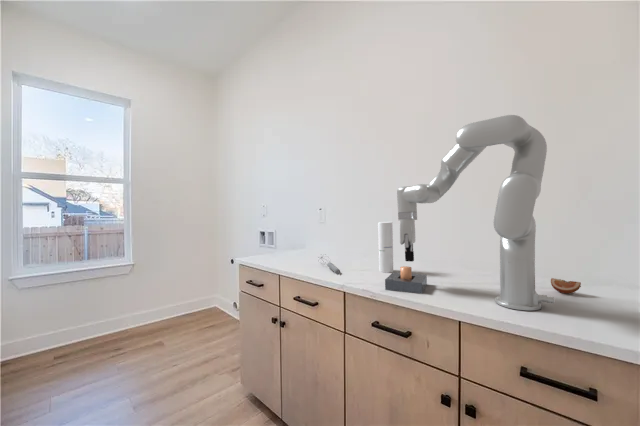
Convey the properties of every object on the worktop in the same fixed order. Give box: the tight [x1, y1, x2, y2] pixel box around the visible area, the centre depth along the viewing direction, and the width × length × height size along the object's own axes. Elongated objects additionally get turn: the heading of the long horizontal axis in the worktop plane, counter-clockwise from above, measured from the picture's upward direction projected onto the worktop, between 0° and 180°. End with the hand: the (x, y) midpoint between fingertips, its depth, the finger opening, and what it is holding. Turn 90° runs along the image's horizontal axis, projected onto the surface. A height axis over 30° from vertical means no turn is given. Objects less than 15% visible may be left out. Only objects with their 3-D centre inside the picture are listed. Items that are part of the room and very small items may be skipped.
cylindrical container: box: [377, 221, 394, 274], centre depth 150 cm, size 7×7×25 cm
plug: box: [399, 265, 413, 279], centre depth 120 cm, size 4×4×8 cm
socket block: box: [384, 271, 428, 294], centre depth 120 cm, size 14×14×4 cm
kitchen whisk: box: [317, 254, 341, 275], centre depth 160 cm, size 6×34×6 cm, turn 15°
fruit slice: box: [550, 277, 582, 295], centre depth 106 cm, size 8×7×5 cm
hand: (409, 260), depth 121 cm, fingers closed
